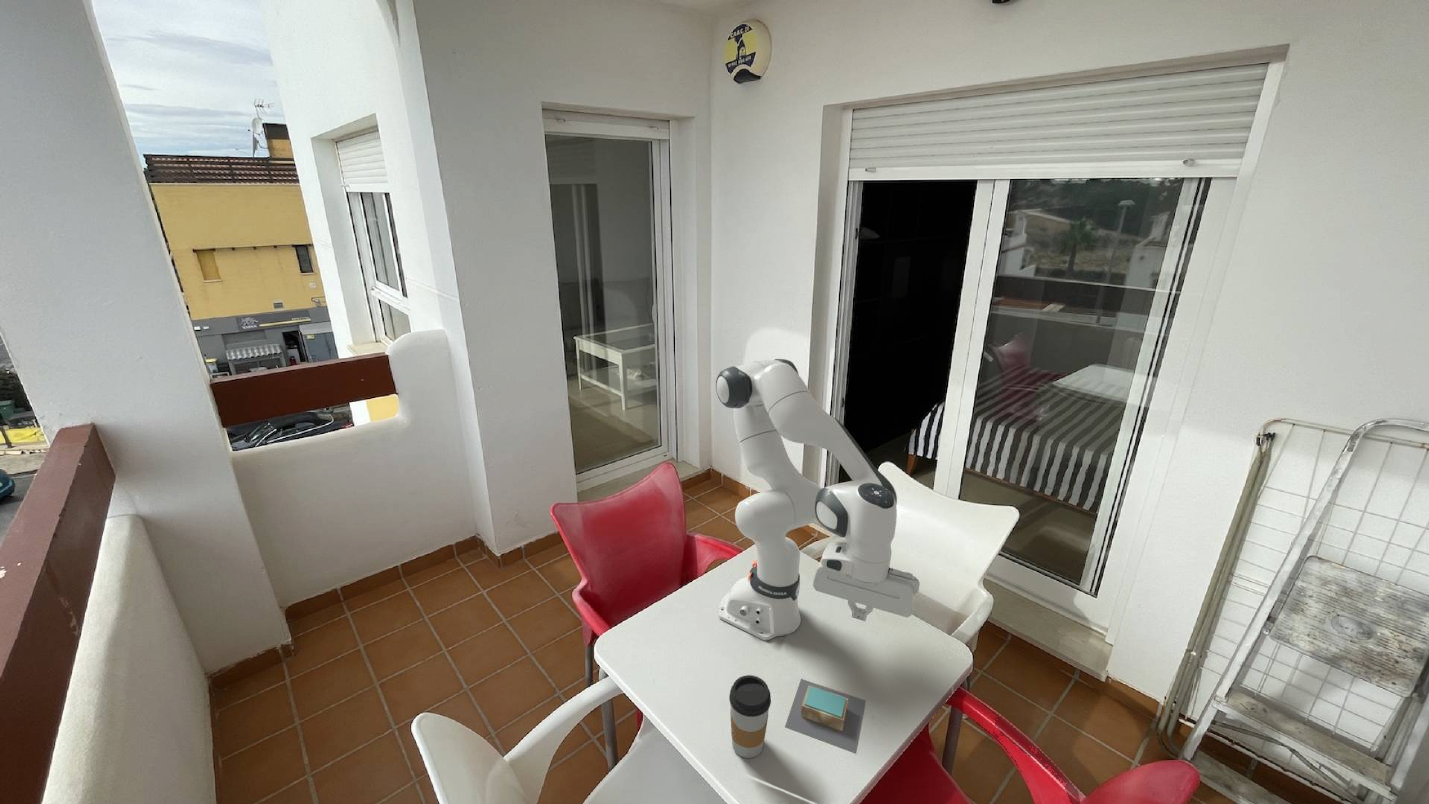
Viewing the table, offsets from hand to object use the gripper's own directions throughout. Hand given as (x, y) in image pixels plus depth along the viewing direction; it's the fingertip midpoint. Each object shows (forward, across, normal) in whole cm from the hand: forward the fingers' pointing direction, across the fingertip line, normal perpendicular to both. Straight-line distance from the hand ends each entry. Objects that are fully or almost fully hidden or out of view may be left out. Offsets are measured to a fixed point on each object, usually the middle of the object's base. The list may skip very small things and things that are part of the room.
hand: (858, 617), depth 114 cm
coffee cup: (+25, +17, +19) cm, 35 cm away
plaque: (+22, 0, +4) cm, 23 cm away
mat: (+24, +4, +4) cm, 25 cm away
